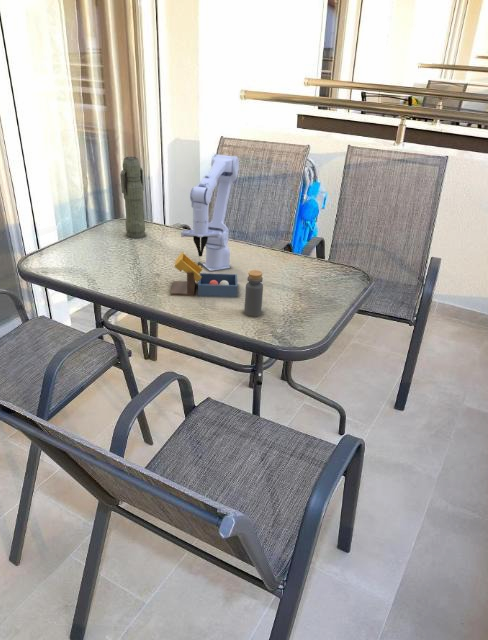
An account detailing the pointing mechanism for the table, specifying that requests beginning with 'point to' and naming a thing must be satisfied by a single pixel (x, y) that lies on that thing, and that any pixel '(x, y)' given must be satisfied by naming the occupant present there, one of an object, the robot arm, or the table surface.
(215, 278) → the bin
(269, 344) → the table surface
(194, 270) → the yellow tray
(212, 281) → the ball coral
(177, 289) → the dish stand
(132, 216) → the stone statue
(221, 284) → the ball cream
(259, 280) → the bottle
